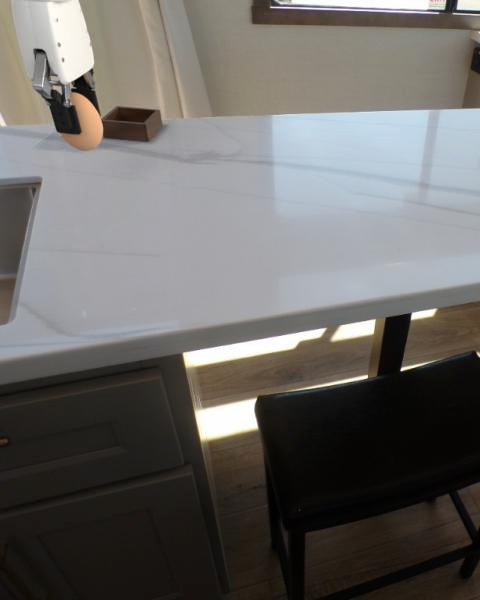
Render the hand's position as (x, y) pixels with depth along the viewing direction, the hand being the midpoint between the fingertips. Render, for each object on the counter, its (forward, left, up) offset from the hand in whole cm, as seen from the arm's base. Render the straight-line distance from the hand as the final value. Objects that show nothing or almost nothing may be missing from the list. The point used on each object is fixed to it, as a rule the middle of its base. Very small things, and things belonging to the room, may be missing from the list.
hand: (79, 123), depth 76 cm
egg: (0, 0, -4) cm, 4 cm away
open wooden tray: (-4, +27, -12) cm, 30 cm away
